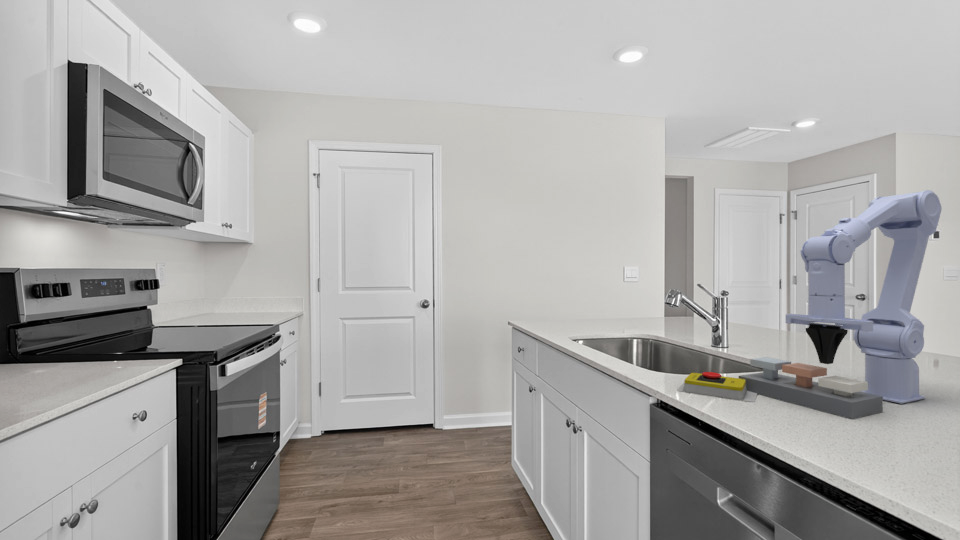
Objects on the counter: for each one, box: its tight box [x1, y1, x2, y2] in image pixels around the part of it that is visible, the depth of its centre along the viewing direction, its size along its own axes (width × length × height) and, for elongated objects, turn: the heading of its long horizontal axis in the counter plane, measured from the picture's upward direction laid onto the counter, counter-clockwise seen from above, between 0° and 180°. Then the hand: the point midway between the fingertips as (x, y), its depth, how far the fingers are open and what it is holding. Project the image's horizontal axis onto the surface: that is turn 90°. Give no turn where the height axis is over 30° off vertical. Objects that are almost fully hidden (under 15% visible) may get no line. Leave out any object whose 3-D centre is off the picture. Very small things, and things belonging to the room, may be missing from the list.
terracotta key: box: [781, 362, 828, 387], centre depth 91 cm, size 6×6×4 cm
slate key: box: [750, 356, 792, 380], centre depth 98 cm, size 6×6×4 cm
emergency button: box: [676, 371, 758, 403], centre depth 97 cm, size 9×4×15 cm
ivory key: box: [817, 375, 868, 396], centre depth 85 cm, size 6×6×4 cm
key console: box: [738, 372, 884, 420], centre depth 91 cm, size 10×22×3 cm, turn 23°
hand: (826, 363), depth 87 cm, fingers closed
